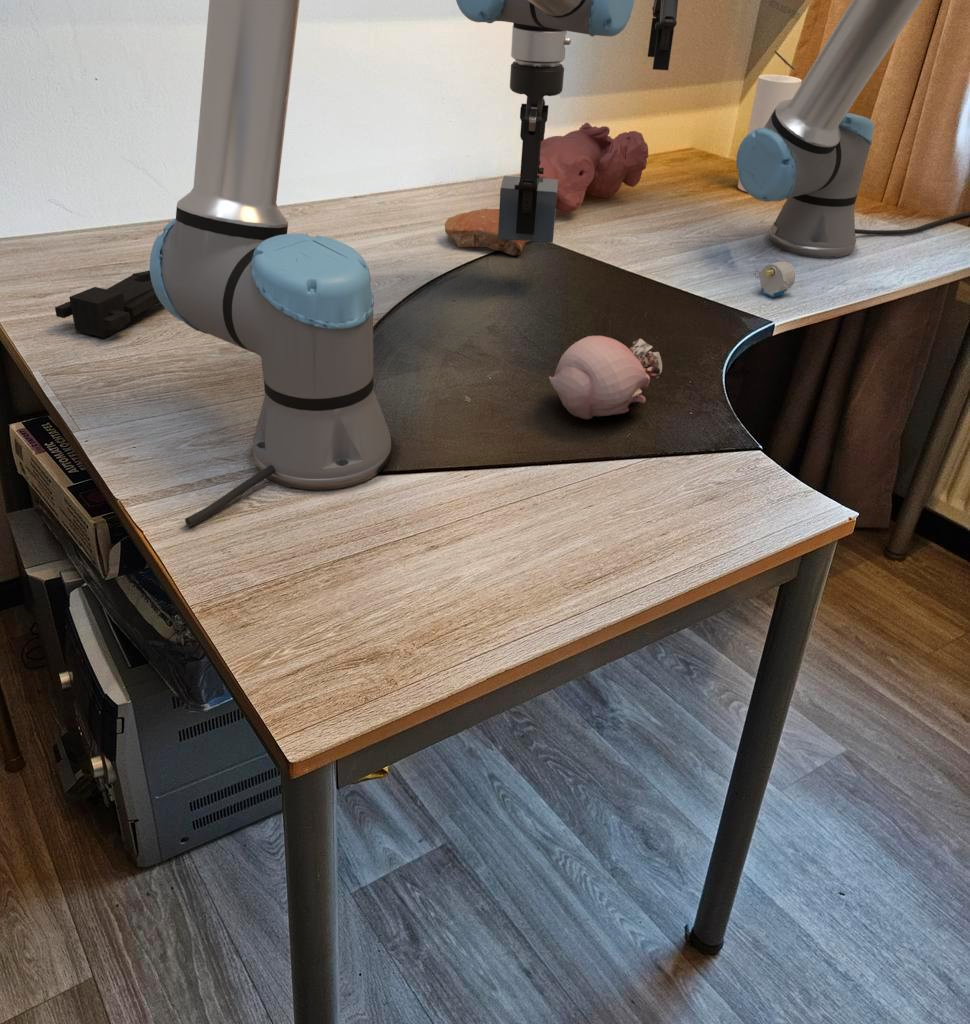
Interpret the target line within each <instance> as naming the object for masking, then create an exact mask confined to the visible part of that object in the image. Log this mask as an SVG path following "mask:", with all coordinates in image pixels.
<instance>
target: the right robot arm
mask: <svg viewBox="0 0 970 1024" xmlns="http://www.w3.org/2000/svg"><path fill="white" fill-rule="evenodd" d="M922 1H923V0H851V1H850V3H849V4H848V6H847V7H846V10H845V11H844V13H843V14H842V16H841V17H840V19H839V21H838V22H837V24H836V26H835V28H834V29H833V31H832V33H831V34H830V36H829V38H828V39H827V40H826V43H825V44H824V46H823V48H821V50H820V53H819V54H818V55H817V57H816V59H815V60H814V62H813V64H812V65H811V66H810V69H809V70H808V72H807V74H806V76H805V77H804V79H802V82H801V85H800V87H799V88H798V90H797V92H796V93H795V95H794V97H793V98H792V99H790V100H785V101H782V102H780V103H779V104H778V105H777V107H776V108H775V110H774V112H773V113H772V115H771V117H770V118H769V120H768V122H767V123H766V125H765V127H764V128H759V129H755V130H754V131H752V132H751V133H749V134H748V133H747V134H748V135H747V134H746V136H745V137H744V138H743V139H742V141H741V142H740V144H739V146H738V149H737V153H736V162H735V163H736V165H735V167H736V169H737V171H738V173H737V176H738V181H739V180H740V182H741V184H742V186H743V187H744V189H745V190H746V191H747V192H746V191H745V192H746V193H747V194H748V195H749V196H750V197H752V198H753V199H755V200H757V201H759V202H766V203H767V202H781V201H784V200H786V201H785V202H784V204H783V206H782V208H781V209H780V211H779V213H778V215H777V217H776V219H775V221H774V222H773V223H772V225H771V226H770V228H769V230H770V231H769V235H768V240H769V242H770V243H771V244H772V245H773V246H774V247H776V248H778V249H780V250H783V251H786V252H788V253H792V254H795V255H800V256H805V257H811V258H812V257H813V258H822V259H823V258H825V259H826V258H827V259H829V258H831V259H832V258H841V257H846V256H849V255H851V254H852V253H853V252H854V251H855V248H856V243H857V235H870V236H871V235H879V236H880V235H881V236H882V235H883V236H885V235H887V236H890V235H894V236H895V235H897V236H898V235H908V234H915V233H918V232H921V231H924V230H926V229H929V228H932V227H936V226H939V225H943V224H945V223H949V222H951V221H955V220H959V219H962V218H966V217H970V211H966V212H961V213H958V214H955V215H951V216H947V217H945V218H941V219H937V220H935V221H931V222H928V223H925V224H922V225H920V226H917V227H913V228H908V229H892V230H891V229H890V230H889V229H862V228H861V229H860V228H856V219H855V217H856V215H855V205H856V201H857V197H858V194H859V190H860V186H861V183H862V178H863V175H864V171H865V167H866V163H867V160H868V156H869V153H870V149H871V146H872V144H873V135H874V129H875V125H874V122H873V121H872V120H871V119H870V118H868V117H866V116H862V115H859V114H855V113H851V112H849V111H850V110H851V108H852V106H853V104H854V103H855V102H856V100H857V98H858V97H859V95H860V94H861V92H862V91H863V89H864V88H865V87H866V85H867V83H868V82H869V80H870V79H871V77H872V76H873V74H874V73H875V72H876V70H877V69H878V67H879V66H880V64H881V62H882V61H883V60H884V58H885V57H886V55H887V53H888V52H889V50H890V49H891V48H892V46H893V44H894V43H895V41H896V40H897V39H898V37H899V36H900V34H901V33H902V31H903V29H904V28H905V26H906V25H907V23H908V22H909V20H910V19H911V17H912V16H913V14H914V13H915V11H916V10H917V9H918V7H919V5H920V4H921V3H922ZM678 6H679V0H653V6H652V8H651V9H652V18H651V26H650V35H649V41H648V48H647V49H648V50H647V57H648V58H653V63H652V70H653V71H669V68H670V61H671V54H672V47H673V39H674V32H675V27H676V26H677V24H678V22H677V18H678V15H677V14H678Z"/></svg>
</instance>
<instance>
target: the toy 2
mask: <svg viewBox="0 0 970 1024" xmlns="http://www.w3.org/2000/svg"><path fill="white" fill-rule="evenodd" d="M652 349H653V344H651V343H647V342H646V341H645V340H643V339H642V338H637V339H636V340H635V341H632V344H631V346H630V347H628V346H627V345H625V344H623V343H622V342H620V341H618V340H617V339H615V338H612V337H610V336H609V337H608V336H605V335H588V336H586V337H583V338H581V339H579V340H578V341H576V342H575V343H573V344H571V345H570V346H569V347H568V348H567V349H566V350H565V351H564V353H563V354H562V355H561V357H560V358H559V361H558V364H557V366H556V369H555V371H554V376H550V375H548V379H549V382H550V385H551V386H552V387H553V389H554V390H555V392H556V394H557V396H558V399H559V400H560V402H561V404H562V406H563V407H564V408H565V409H566V410H567V412H568V413H569V414H570V415H572V416H574V417H576V418H579V419H583V420H591V419H593V418H594V417H608V416H614V415H615V416H618V415H620V414H626V413H628V412H629V411H630V408H629V406H630V404H633V403H636V402H638V403H639V404H642V405H643V404H645V403H646V402H647V399H646V397H645V396H644V395H643V393H642V392H643V391H642V390H643V389H644V390H646V389H648V387H649V385H650V382H651V379H654V380H657V379H658V378H659V377H660V376H664V375H666V374H667V373H666V372H662V371H663V361H662V358H661V354H660V352H659V351H653V352H652V351H651V350H652Z"/></svg>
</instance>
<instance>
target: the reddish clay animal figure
mask: <svg viewBox="0 0 970 1024" xmlns="http://www.w3.org/2000/svg"><path fill="white" fill-rule="evenodd" d="M610 130H611V129H610V127H608V126H607V125H605V126H604V125H602V126H600V127H598V126H592V125H591V124H590V123H589V122H585V123H584V124H581V126H580V127H579V129H576V130H573V131H570V132H568V133H566V134H565V135H554V136H549V137H546V138H544V140H543V141H542V142H541V150H540V161H541V162H540V165H539V168H544V173H543V174H538V175H539V178H542V179H556V180H558V189H557V201H556V211H559V212H560V213H564V214H569V213H573V212H575V211H578V209H579V208H581V206H582V203H584V199H585V195H591V196H593V197H596V198H599V197H604V198H606V197H608V198H610V197H613V196H614V195H617V194H618V192H619V191H620V189H621V186H622V184H624V185H625V186H627V187H631V188H635V187H636V186H637V185H638V184H639V183H640V181H641V178H642V174H643V171H645V170H646V169H647V164H648V161H647V160H648V157H649V146H648V143H647V142H646V141H645V139H644V135H643V134H642V132H638V131H636V130H631V131H628V132H627V131H624V132H621V133H618V135H617V136H615V137H614V138H612V137H611V136H610V135H609V134H610Z"/></svg>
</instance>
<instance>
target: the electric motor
mask: <svg viewBox="0 0 970 1024" xmlns="http://www.w3.org/2000/svg"><path fill="white" fill-rule="evenodd" d="M757 273H758V274H757ZM753 275H754V277H756V278H758V279H759V284H760V287H761V288H762V289H761V293H762V294H763V295H766V296H768V297H770V298H775V297H778V296H782V295H785V293H786V292H787V291H788V290H789V289H791V288H792V287H793V286H794V285H795V281H796V271H795V268H794V266H793V265H792V264H791V263H790V262H789V261H787V260H786V261H785V260H781V261H780V260H779V261H777V262H774V263H770V264H767V265H765V266H763V267H762V269H761V270H759V269H755V270H754V272H753Z"/></svg>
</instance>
